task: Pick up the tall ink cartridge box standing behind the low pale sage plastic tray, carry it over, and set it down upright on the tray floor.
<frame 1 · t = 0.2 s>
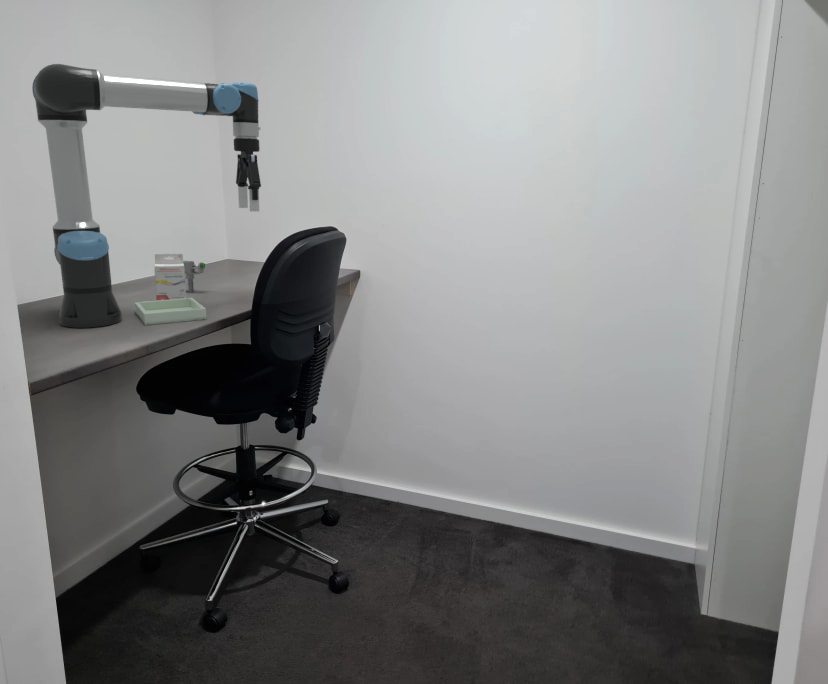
hand: (248, 209, 207), 28 cm above the table, fingers open, 13 cm apart
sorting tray: (170, 315, 188), on the table
mechanical component: (191, 292, 221), on the table
ink cartridge box: (171, 303, 205), on the table
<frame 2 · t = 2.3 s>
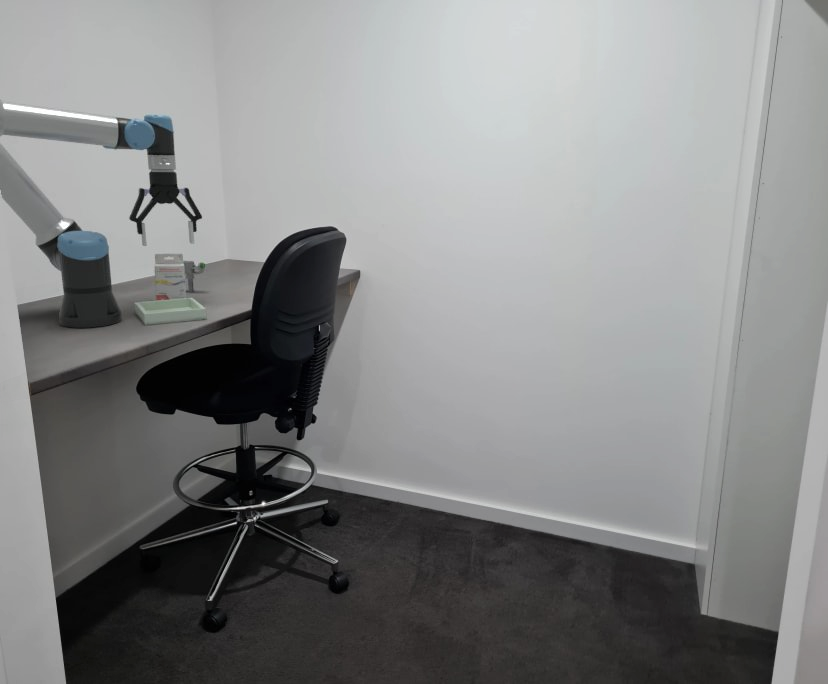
hand: (168, 244, 200), 18 cm above the table, fingers open, 13 cm apart
nothing on the table moved.
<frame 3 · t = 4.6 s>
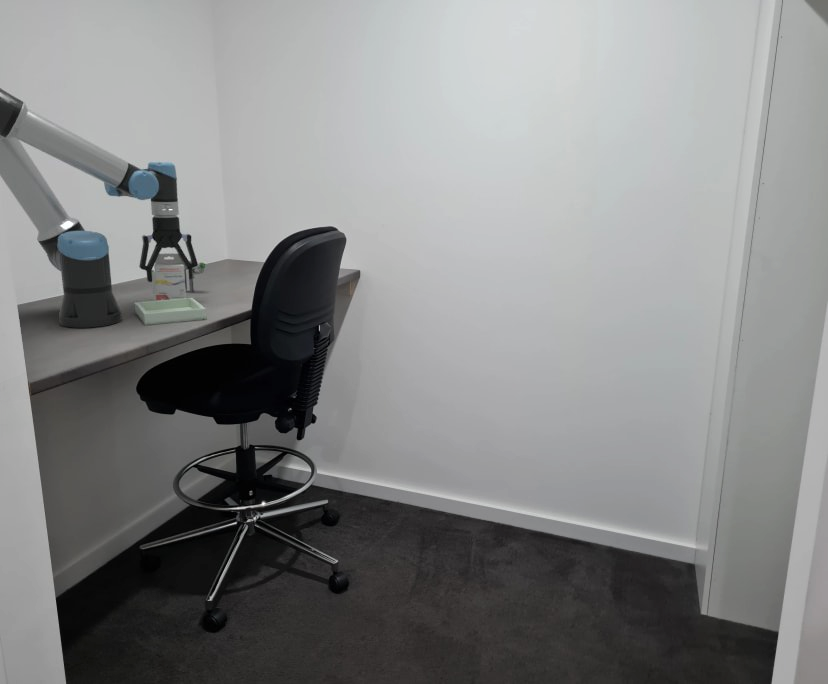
hand: (170, 290, 204), 4 cm above the table, fingers closed on ink cartridge box, 9 cm apart
ink cartridge box: (171, 303, 205), on the table, touching gripper
everything else where it was.
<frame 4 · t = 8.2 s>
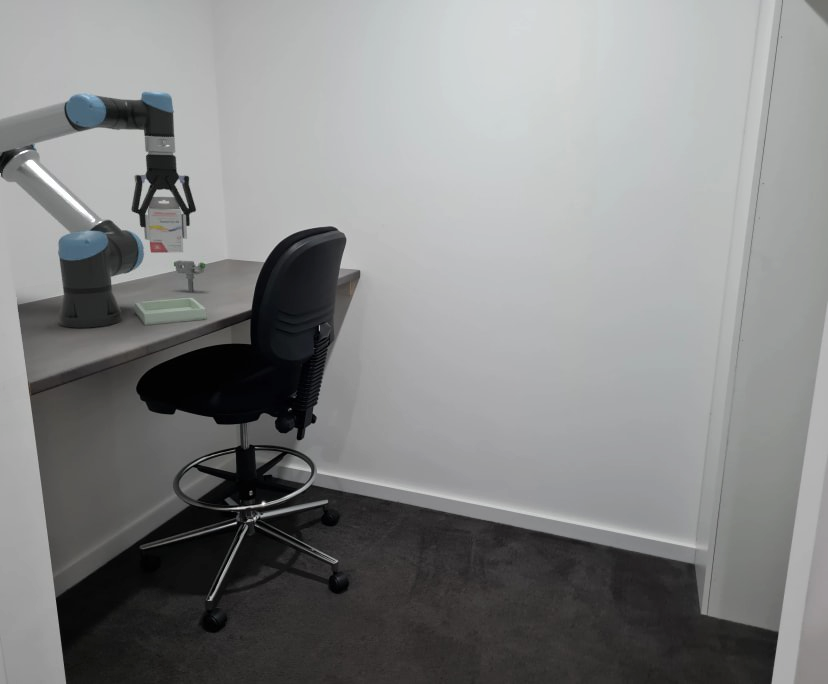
hand: (166, 238, 184), 21 cm above the table, fingers closed on ink cartridge box, 9 cm apart
ink cartridge box: (167, 252, 185), point 18 cm above the table, touching gripper
everything else where it was.
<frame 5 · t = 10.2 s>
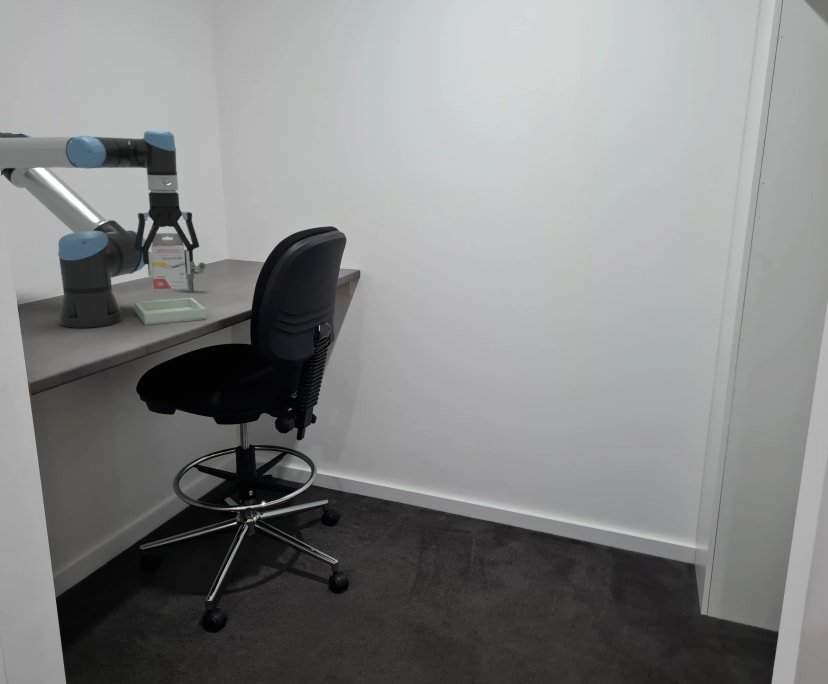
hand: (169, 274, 185), 12 cm above the table, fingers closed on ink cartridge box, 9 cm apart
ink cartridge box: (170, 288, 186), point 8 cm above the table, touching gripper
everything else where it was.
when the fingers open (6 cm above the table, at t = 12.2 s): ink cartridge box drops 2 cm, resting on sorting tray.
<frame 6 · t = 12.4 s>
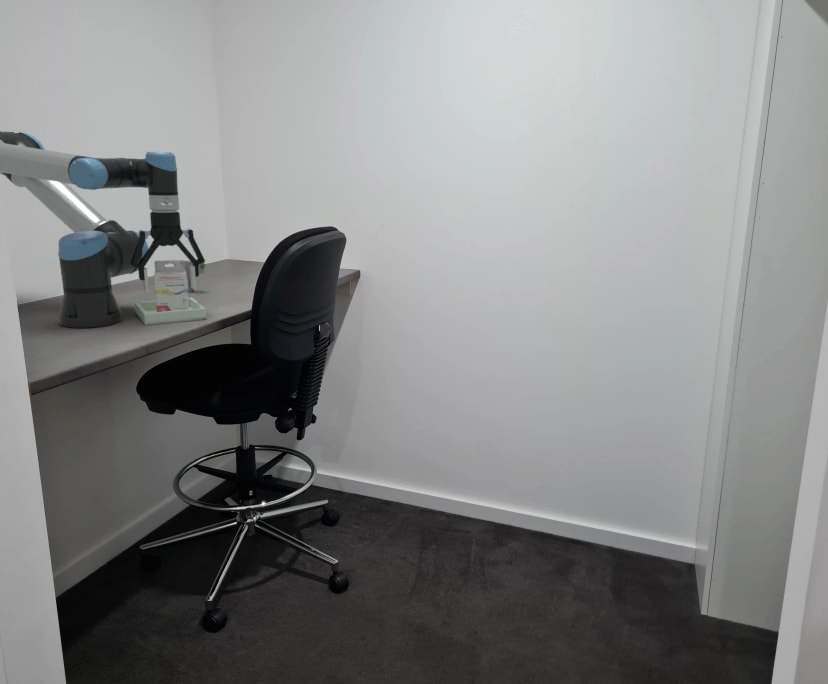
hand: (170, 290, 186), 7 cm above the table, fingers open, 12 cm apart
ink cartridge box: (173, 314, 188), resting on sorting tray
everything else where it was.
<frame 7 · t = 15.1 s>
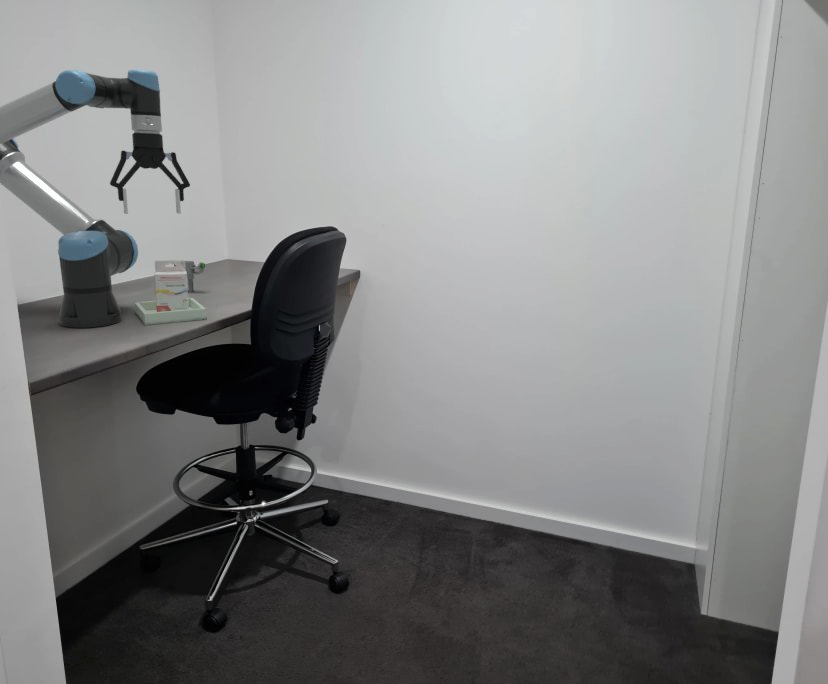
hand: (152, 213, 184), 28 cm above the table, fingers open, 13 cm apart
nothing on the table moved.
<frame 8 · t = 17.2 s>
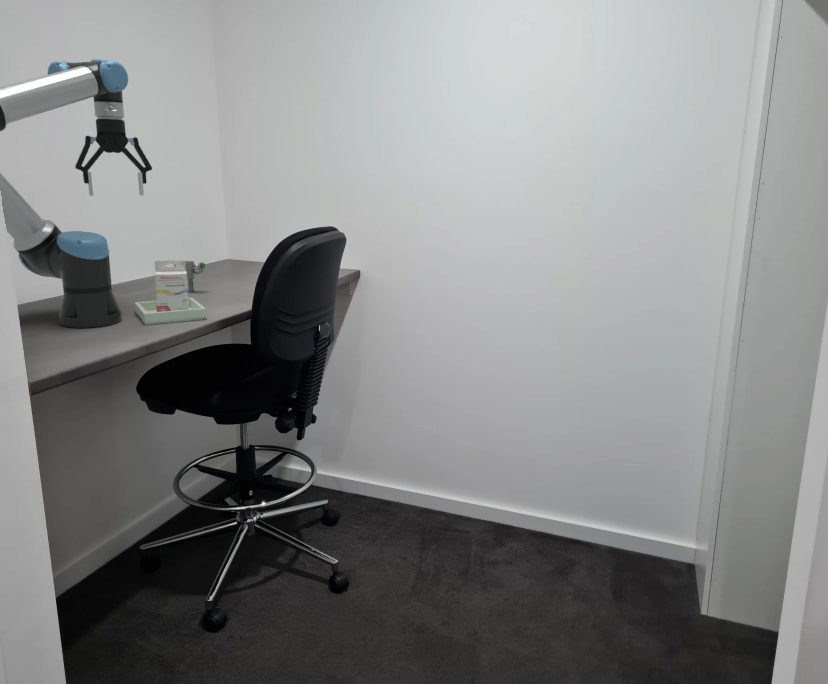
hand: (117, 195, 195), 32 cm above the table, fingers open, 13 cm apart
nothing on the table moved.
at the end: ink cartridge box inside the target area on the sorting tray (0.8 cm from its centre), point 0.4 cm above the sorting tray's base; ink cartridge box tilted 0°; the gripper is holding nothing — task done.
